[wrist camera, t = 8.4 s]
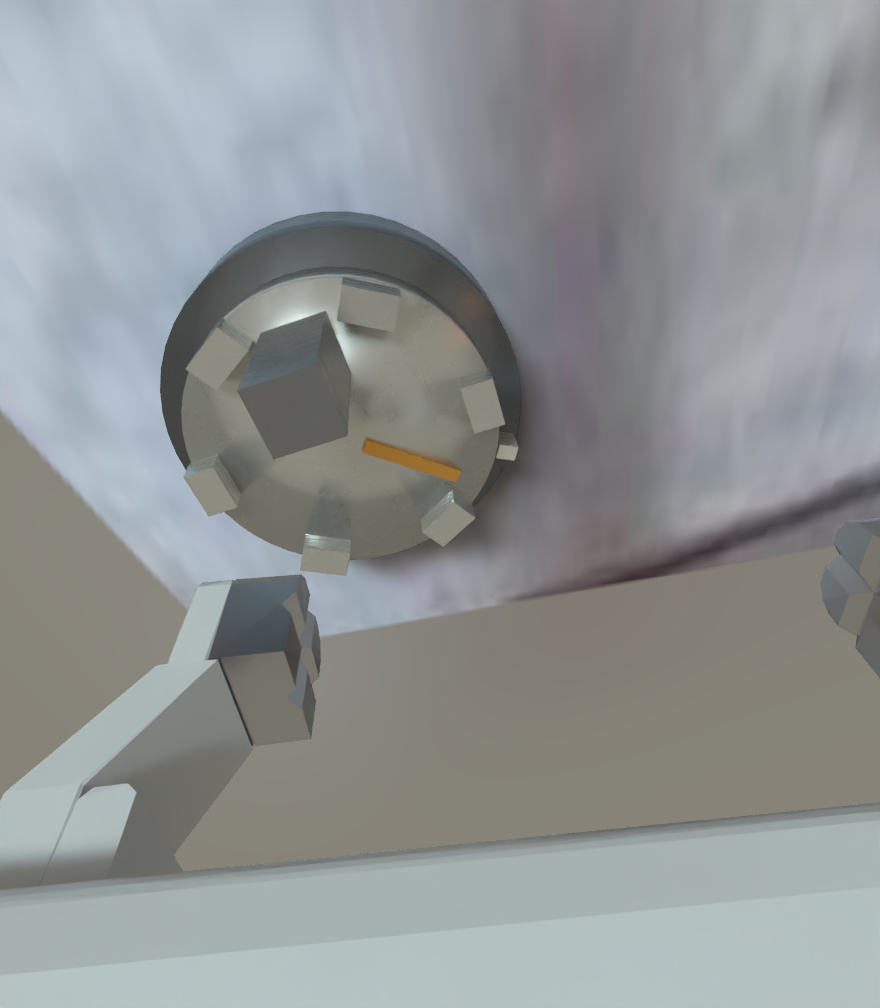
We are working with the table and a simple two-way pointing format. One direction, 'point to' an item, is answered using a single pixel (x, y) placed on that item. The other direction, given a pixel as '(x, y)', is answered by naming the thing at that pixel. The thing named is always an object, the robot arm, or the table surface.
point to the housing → (343, 246)
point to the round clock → (340, 417)
